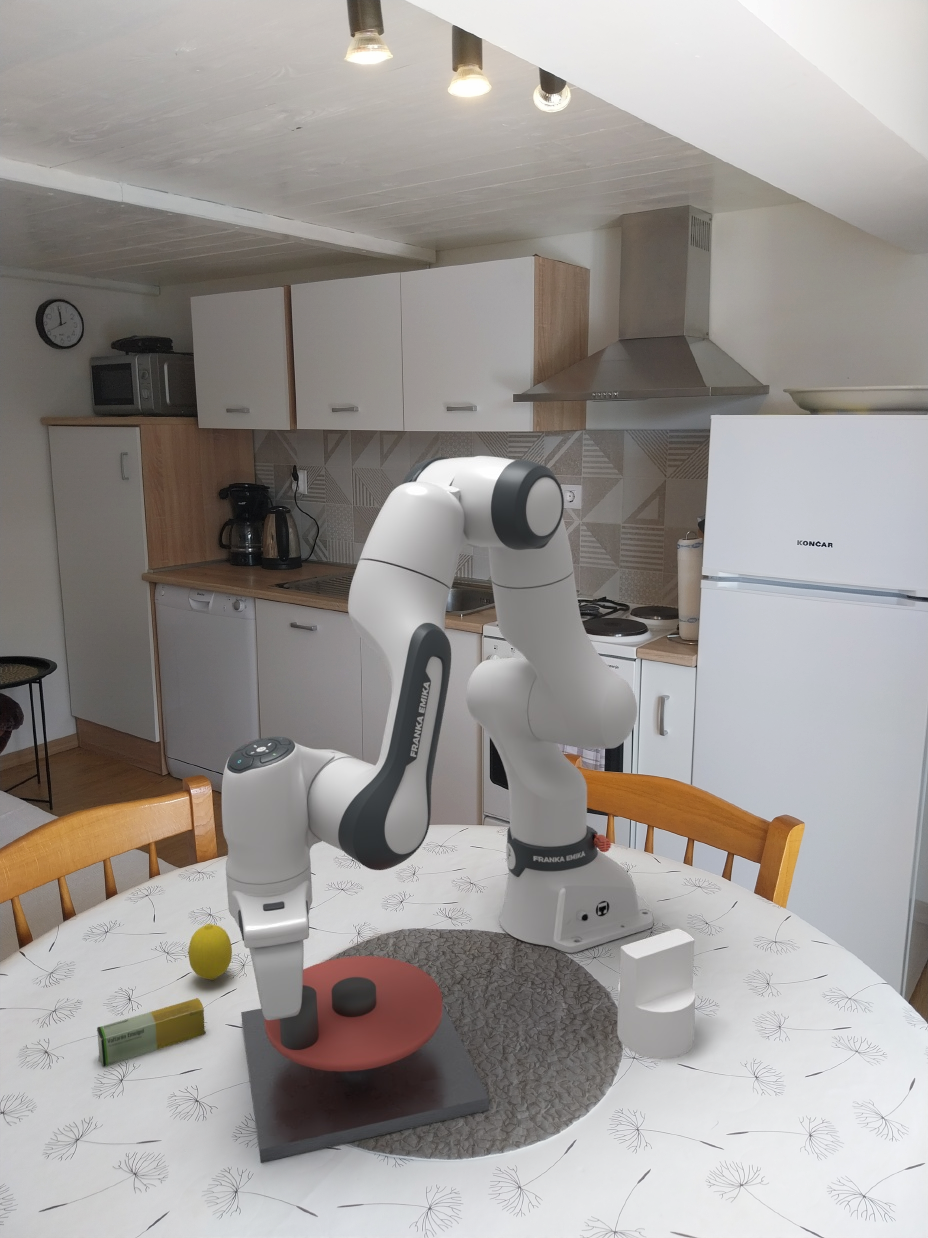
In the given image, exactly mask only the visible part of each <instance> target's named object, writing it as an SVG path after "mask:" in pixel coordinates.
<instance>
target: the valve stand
mask: <svg viewBox="0 0 928 1238" xmlns="http://www.w3.org/2000/svg"><path fill="white" fill-rule="evenodd" d="M442 1005H443V1015H442V1019H441V1023H440V1025H439V1027H438V1029H437V1031H436V1032H435V1034H434V1035H433V1036H432V1037H431V1039H430V1040H429V1041H428V1042H427V1043H426V1044H424V1045H423V1046H422V1047H421V1048H420V1049H418V1050H416V1051H415V1052H413V1053H412V1054H410V1055H408V1056H406V1057H404V1058H402V1059H400V1060H398V1061H395V1062H392V1063H390V1064H387V1065H383V1066H380V1067H376V1068H371V1069H366V1070H357V1071H326V1070H320V1069H314V1068H310V1067H307V1066H303V1065H301V1064H298V1063H295V1062H293V1061H291V1060H290V1059H288V1058H286V1057H284V1056H283V1055H282V1054H280V1053H279V1052H278V1051H277V1050H276V1049H275V1048H274V1047H273V1046H272V1044H271V1043H270V1041H269V1040H268V1037H267V1034H266V1030H265V1018H264V1015H263V1012H262V1009H261V1008H257V1009H252V1010H246V1011H245V1010H244V1011H241V1012H240V1013H241V1015H240V1016H241V1026H242V1034H243V1035H242V1036H243V1040H244V1050H245V1057H246V1064H247V1070H248V1077H249V1085H250V1092H251V1093H250V1094H251V1099H252V1109H253V1114H254V1122H255V1131H256V1138H257V1145H258V1153H259V1160H260V1163H265V1162H270V1161H273V1160H279V1159H283V1158H287V1157H292V1156H296V1155H300V1154H304V1153H308V1152H313V1151H317V1150H322V1149H326V1148H330V1147H335V1146H340V1145H344V1144H348V1143H352V1142H357V1141H361V1140H365V1139H369V1138H373V1137H378V1136H383V1135H387V1134H392V1133H395V1132H399V1131H404V1130H409V1129H414V1128H417V1127H420V1126H422V1127H423V1126H425V1125H429V1124H433V1123H434V1124H435V1123H438V1122H442V1121H446V1120H447V1121H448V1120H451V1119H456V1118H460V1117H464V1116H468V1115H473V1114H478V1113H482V1112H487V1111H489V1110H490V1097H489V1095H488V1093H487V1091H486V1088H485V1086H484V1084H483V1083H482V1080H481V1078H480V1077H479V1074H478V1072H477V1070H476V1068H475V1067H474V1065H473V1062H472V1060H471V1058H470V1056H469V1054H468V1052H467V1050H466V1048H465V1046H464V1044H463V1041H462V1040H461V1037H460V1036H459V1034H458V1031H457V1030H456V1027H455V1026H454V1024H453V1021H452V1019H451V1017H450V1015H449V1012H448V1011H447V1010H446V1007H445V1005H444V1003H443V1002H442Z"/></svg>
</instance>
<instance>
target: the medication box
mask: <svg viewBox="0 0 928 1238" xmlns="http://www.w3.org/2000/svg"><path fill="white" fill-rule="evenodd" d="M204 1012H205V1009H204V1006H203V1003H202V1001H201V999H200V998H198V997H196V998H193V999H189V1000H187V1001H183V1002H179V1003H175V1004H172V1005H169V1006H165V1007H162V1008H159V1009H155V1010H152V1011H149V1012H145V1013H142V1014H139V1015H135V1016H132V1017H129V1018H126V1019H125V1018H124V1019H122V1020H120V1021H116V1022H112V1023H108V1024H104V1025H102V1026H101V1025H100V1026H98V1027H96V1032H97V1046H98V1047H97V1048H98V1057H99V1058H98V1059H99V1062H100V1064H101V1066H102V1068H103V1067H104V1068H105V1067H108V1066H111V1065H113V1064H118V1063H120V1062H124V1061H127V1060H129V1059H133V1058H136V1057H138V1056H139V1057H140V1056H142V1055H145V1054H148V1053H151V1052H155V1051H158V1050H161V1049H164V1048H167V1047H170V1046H173V1045H177V1044H179V1043H183V1042H185V1041H189V1040H193V1039H196V1038H198V1037H201V1036H205V1035H206V1034H207V1032H206V1031H205V1029H206V1027H205V1015H204V1014H205V1013H204Z"/></svg>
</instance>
